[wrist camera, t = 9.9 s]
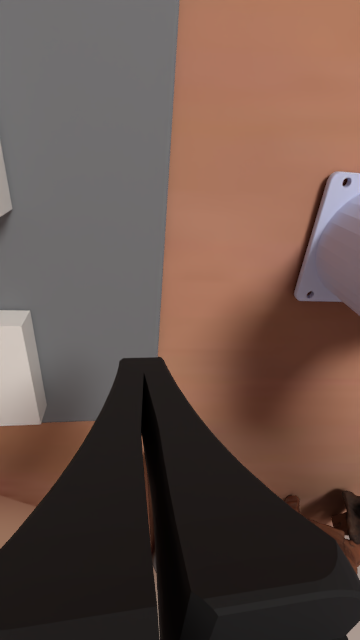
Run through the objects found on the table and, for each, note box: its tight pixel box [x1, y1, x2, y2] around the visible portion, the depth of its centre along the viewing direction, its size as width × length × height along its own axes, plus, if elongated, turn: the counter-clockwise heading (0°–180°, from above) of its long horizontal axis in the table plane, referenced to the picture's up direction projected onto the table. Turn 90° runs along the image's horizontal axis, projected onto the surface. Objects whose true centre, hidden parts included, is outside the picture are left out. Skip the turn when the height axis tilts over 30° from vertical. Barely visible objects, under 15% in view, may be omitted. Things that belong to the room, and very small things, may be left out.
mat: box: [0, 0, 179, 423], centre depth 18 cm, size 15×26×1 cm, turn 175°
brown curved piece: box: [285, 491, 360, 574], centre depth 35 cm, size 12×10×8 cm
